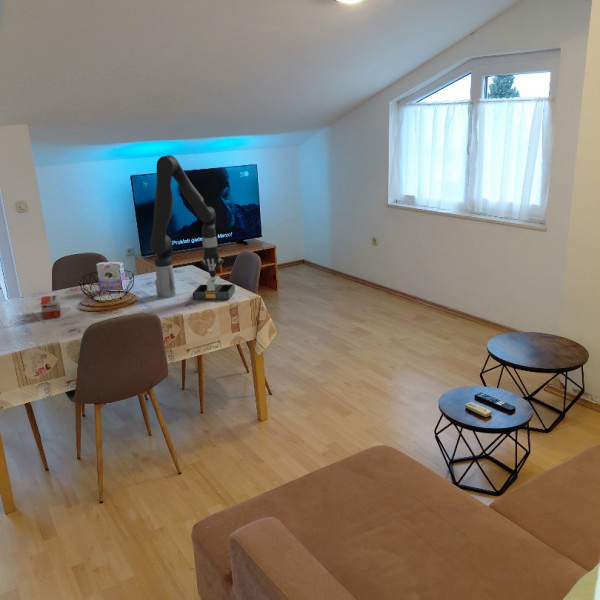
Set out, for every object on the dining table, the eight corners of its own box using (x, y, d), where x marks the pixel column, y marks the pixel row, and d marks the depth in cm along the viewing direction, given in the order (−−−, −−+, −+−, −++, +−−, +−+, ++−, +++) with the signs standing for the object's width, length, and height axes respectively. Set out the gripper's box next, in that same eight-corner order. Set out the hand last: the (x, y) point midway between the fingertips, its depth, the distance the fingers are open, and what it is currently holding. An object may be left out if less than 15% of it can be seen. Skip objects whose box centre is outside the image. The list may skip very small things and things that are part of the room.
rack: (193, 300, 307) (192, 292, 305) (201, 291, 321) (200, 284, 320) (228, 300, 305) (228, 292, 303) (234, 291, 319) (234, 283, 318)
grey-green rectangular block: (208, 298, 307) (206, 281, 305) (213, 291, 319) (212, 275, 316) (215, 298, 307) (214, 281, 304) (220, 291, 318) (219, 275, 316)
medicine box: (60, 317, 288) (58, 302, 286) (43, 320, 286) (40, 304, 283) (60, 309, 302) (58, 294, 300) (44, 311, 299) (41, 296, 297)
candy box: (126, 289, 333) (123, 261, 328) (123, 292, 327) (119, 263, 322) (103, 289, 334) (99, 261, 329) (99, 292, 329) (95, 264, 324)
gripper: (195, 247, 302) (199, 279, 307) (220, 246, 300) (223, 278, 306) (199, 244, 309) (202, 275, 314) (224, 243, 307) (226, 275, 313)
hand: (213, 277), depth 310 cm, fingers closed
